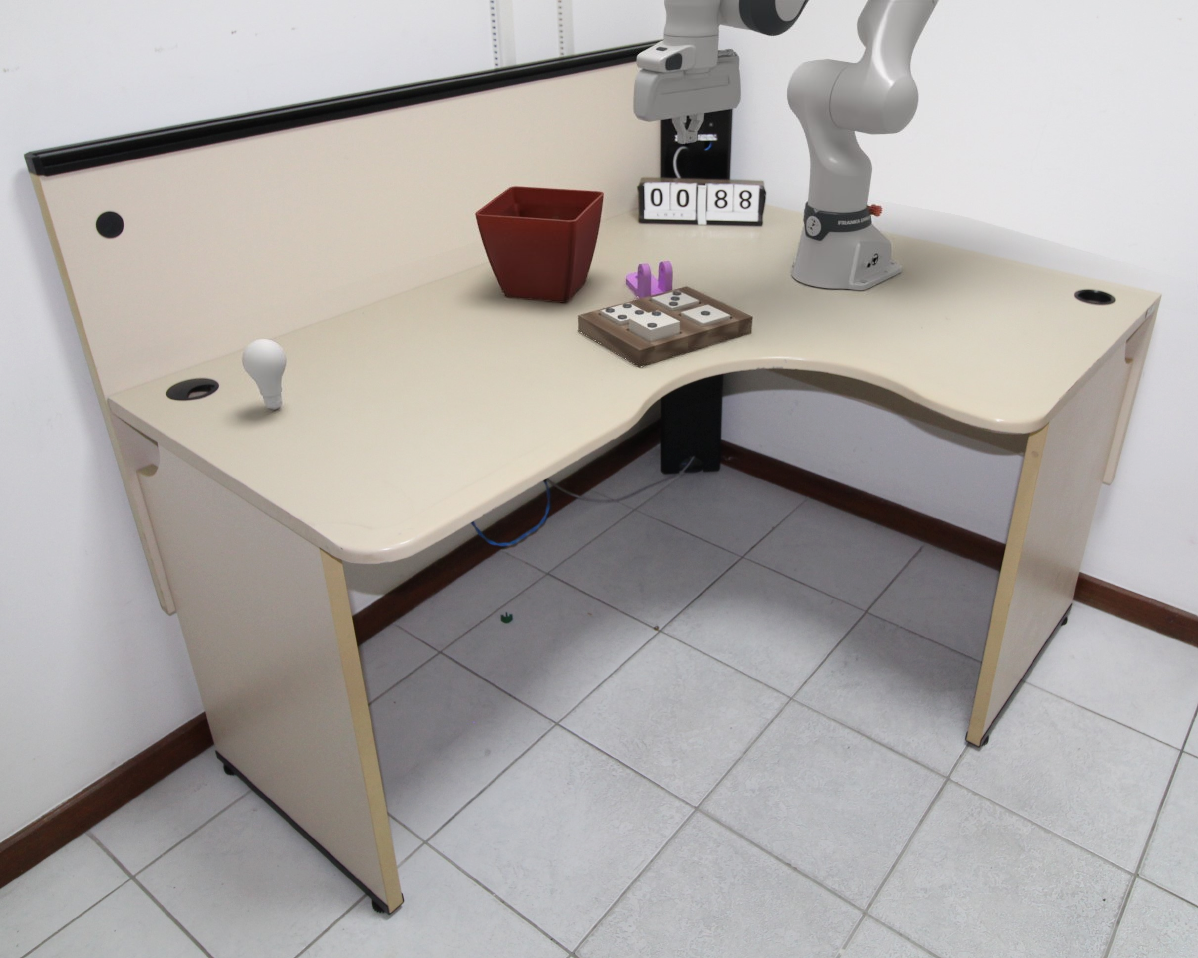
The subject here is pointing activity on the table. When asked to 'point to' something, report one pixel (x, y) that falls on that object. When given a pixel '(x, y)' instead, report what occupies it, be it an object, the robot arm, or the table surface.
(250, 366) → the lightbulb
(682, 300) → the button three dots
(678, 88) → the robot arm
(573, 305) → the table surface
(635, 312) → the button four dots
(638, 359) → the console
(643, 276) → the bracket
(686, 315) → the button one dot
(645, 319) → the button two dots
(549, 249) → the plant pot
